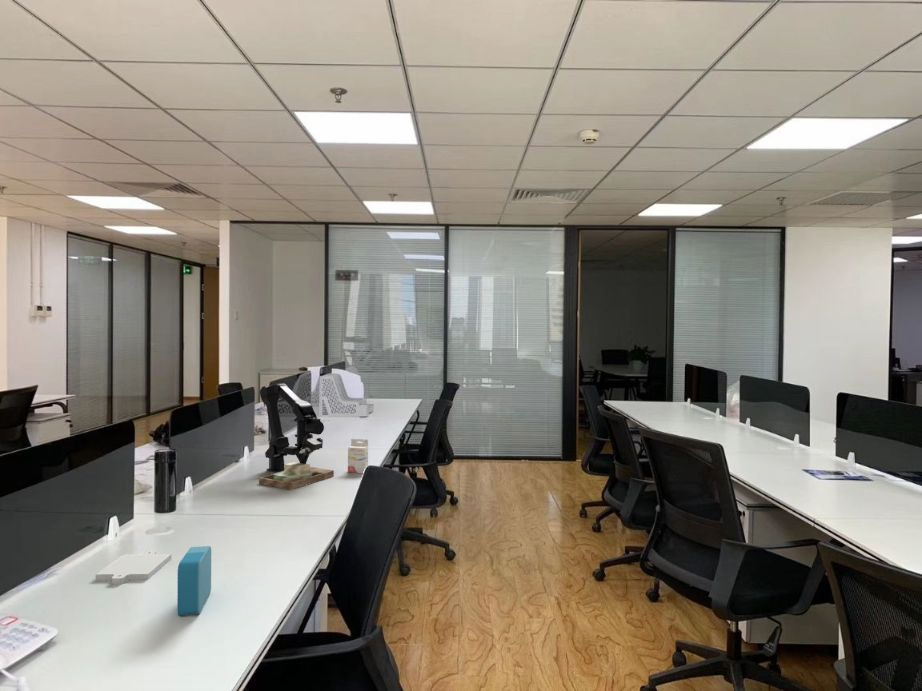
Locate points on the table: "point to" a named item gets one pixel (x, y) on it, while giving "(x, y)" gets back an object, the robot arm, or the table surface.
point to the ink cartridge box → (357, 456)
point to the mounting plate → (134, 567)
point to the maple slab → (297, 468)
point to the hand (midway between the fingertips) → (303, 467)
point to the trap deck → (295, 478)
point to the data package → (194, 580)
